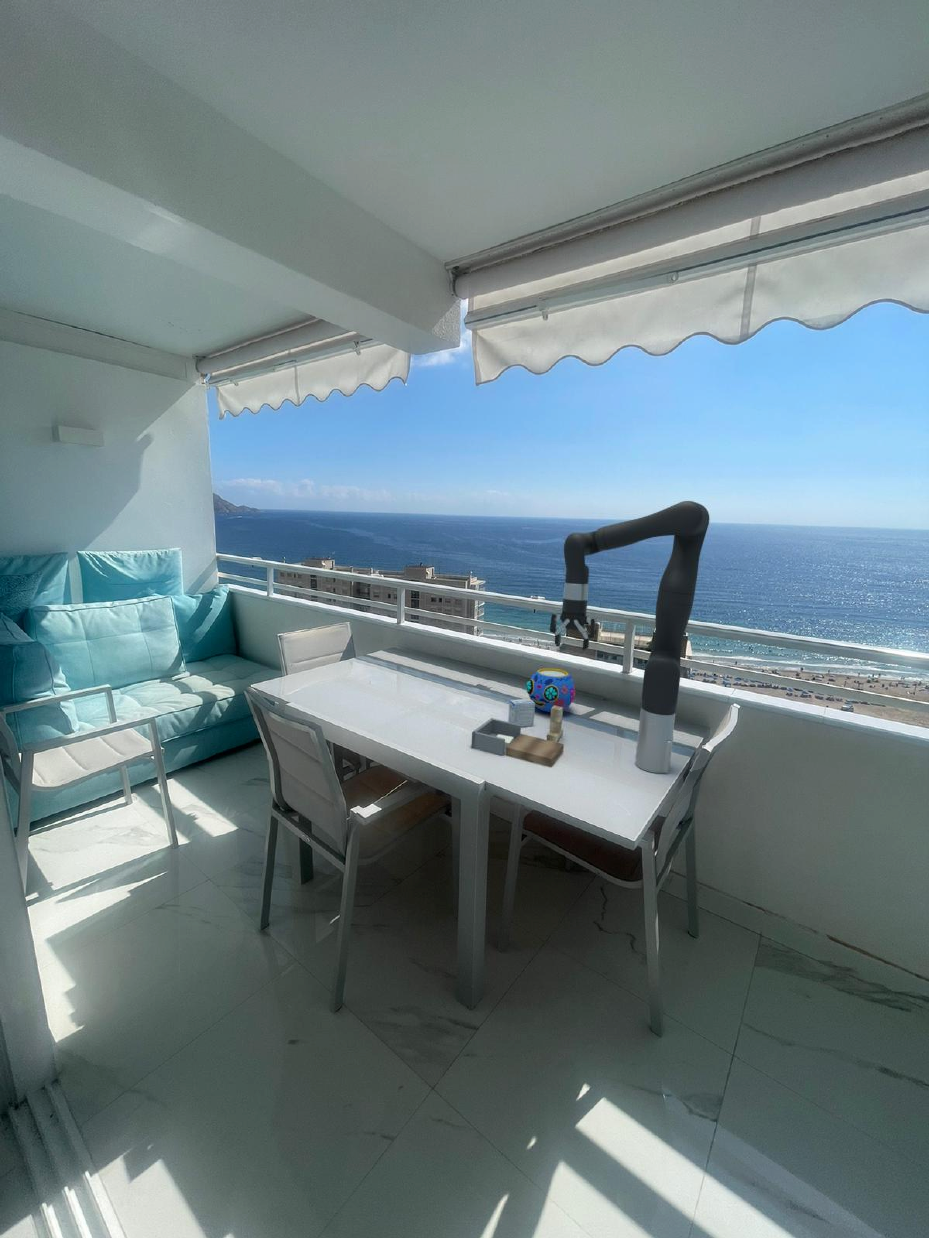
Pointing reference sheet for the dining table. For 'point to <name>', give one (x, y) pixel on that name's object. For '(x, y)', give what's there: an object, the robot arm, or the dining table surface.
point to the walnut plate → (535, 750)
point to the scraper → (555, 724)
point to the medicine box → (521, 712)
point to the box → (494, 736)
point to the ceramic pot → (551, 689)
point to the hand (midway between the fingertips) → (571, 648)
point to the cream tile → (506, 739)
